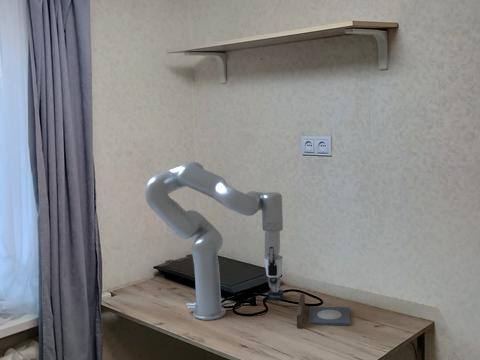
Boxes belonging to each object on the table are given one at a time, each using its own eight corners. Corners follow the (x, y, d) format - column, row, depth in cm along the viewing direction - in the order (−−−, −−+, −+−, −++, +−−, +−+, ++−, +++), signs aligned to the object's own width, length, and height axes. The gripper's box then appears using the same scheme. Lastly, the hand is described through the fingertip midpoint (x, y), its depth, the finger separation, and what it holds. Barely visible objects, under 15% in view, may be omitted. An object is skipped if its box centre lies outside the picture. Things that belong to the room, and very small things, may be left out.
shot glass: (271, 271, 207) (270, 253, 206) (286, 274, 203) (286, 256, 202) (261, 276, 202) (260, 258, 201) (276, 279, 198) (276, 260, 197)
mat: (308, 324, 195) (308, 321, 195) (310, 309, 210) (310, 306, 209) (350, 325, 192) (350, 323, 192) (349, 310, 207) (349, 307, 207)
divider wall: (296, 328, 192) (296, 315, 191) (300, 305, 214) (300, 293, 213) (301, 328, 192) (301, 315, 191) (305, 305, 213) (304, 293, 213)
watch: (267, 301, 219) (266, 275, 218) (271, 294, 227) (270, 269, 225) (280, 302, 218) (279, 276, 216) (284, 295, 225) (283, 270, 224)
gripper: (265, 220, 209) (266, 265, 211) (259, 231, 192) (260, 279, 194) (284, 220, 207) (285, 265, 210) (280, 231, 191) (281, 280, 193)
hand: (273, 272), depth 202 cm, fingers closed on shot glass, 6 cm apart
